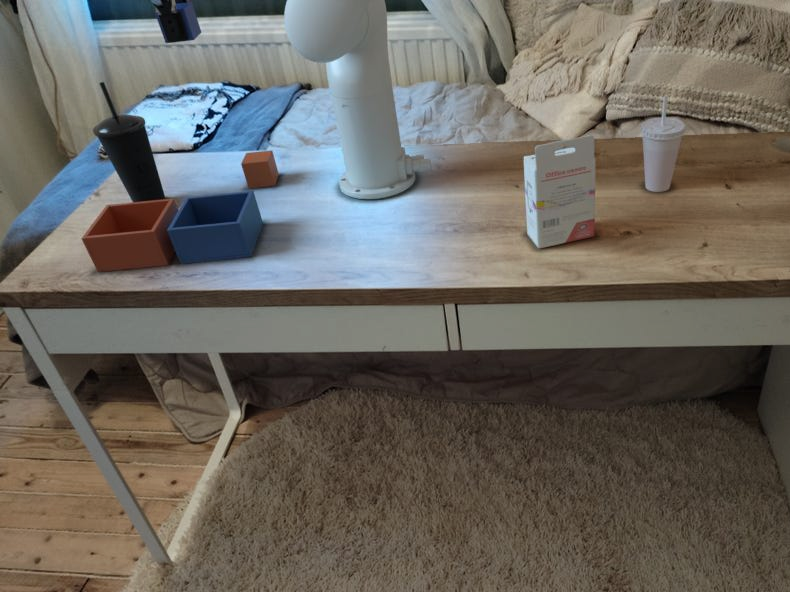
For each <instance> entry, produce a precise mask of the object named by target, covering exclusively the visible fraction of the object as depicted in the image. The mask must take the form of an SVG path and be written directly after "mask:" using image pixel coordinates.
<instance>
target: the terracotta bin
mask: <svg viewBox="0 0 790 592" xmlns="http://www.w3.org/2000/svg"><path fill="white" fill-rule="evenodd" d="M178 210H179V208H178V206H177V203H176V199H175V198H166V199H163V200H153V201H142V202H133V201H131V202H125V203H124V202H121V203H111V204H106V205H105V207H104V208H103V209H102V210H101V212H100V213H99V214H98V216H97V217H96V219H94V221H93V222H92V224H91V225H90V226H89V227H88V229H87V230H86V232H85V233H84V234H83V235H82V237H81V241H82V244H83V245H84V247H85V249H86V251H87V253H88V255H89V257H90V259H91V261H92V264H93V265H94V268H95V269H96V272H97V273H102V272H111V271H121V270H130V269H142V268H153V267H162V266H169V264H170V262H171V260H172V259H173V257H174V255H175V253H176V251H175V249H174V246H173V244H172V241H171V239H170V236H169V234H168V231H167V230H168V228H169V226H170V224H171V223H172V221H173V219H174V217H175V216H176V214H177V212H178Z"/></svg>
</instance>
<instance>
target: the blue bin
mask: <svg viewBox="0 0 790 592" xmlns="http://www.w3.org/2000/svg"><path fill="white" fill-rule="evenodd" d="M263 225H264V221H263V218H262V215H261V211H260V208H259V205H258V202H257V198H256V195H255V192H254V190H247V191H246V190H245V191H236V192H226V193H215V194H208V195H207V194H206V195H196V196H186V197H185V198H184V200H183V202H182V204H181V205H180V207H179V208H178V212H177V214H176V216H175V217H174V219H173V221H172V223H171V224H170V226H169V228H168V230H167V231H168V234H169V236H170V239H171V241H172V244H173V246H174V249H175V253H176V256H177V259H178V261H179V265H180V264H181V265H183V264H193V263H202V262H203V263H205V262H215V261H224V260H235V259H245V258H251V257H252V255H253V252H254V249H255V246H256V244H257V241H258V238H259V236H260V233H261V230H262V227H263Z"/></svg>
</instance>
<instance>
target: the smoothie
mask: <svg viewBox="0 0 790 592" xmlns="http://www.w3.org/2000/svg"><path fill="white" fill-rule="evenodd" d="M667 108H668V95H664V96H663V98H662V111H661V117H653V118H648V119H646V120H645V121H643V122H642V123H641V125H640V130H639V131H640V134H641V136H642V148H643V149H642V151H643V152H642V153H643V165H644V166H643V167H644V185H645V189H647V191H650V192H653V193H654V192H655V193H662V192H666V191H669V189H670V188H671V184H672V180H673V176H674V171H675V168H676V162H677V158H678V154H679V150H680V146H681V143H682V138H683V136H684V135H685V133H686V124H685V123H684V122H683V121H682V120H681V119H677V118H673V117H667Z"/></svg>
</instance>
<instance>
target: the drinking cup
mask: <svg viewBox="0 0 790 592" xmlns="http://www.w3.org/2000/svg"><path fill="white" fill-rule="evenodd" d="M99 86H100V88H101V91H102V94H103V96H104V98H105V100H106V103H107V107H108V108H109V111H110V113H111V116H108V117H107V118H105V119H103V120H102V121H100V123H98V124H96V125H95V126H94V127H93V128H92V133H93V135H94V136H95V137H97V139H98V141H99V143H100V144H101V146H102V148H103V150H104V152H105V153H106V155H107V158H108V159H109V161H110V162H111V164H112V166H113V169H114V170H115V172H116V174H117V175H118V178H119V179H120V181H121V183H122V185H123V187H124V189H125V191H126V192H127V194H128V196H129V198H130V200H131V202H142V201H153V200H163V199H167V198H166V195H165V192H164V188H163V184H162V181H161V177H160V174H159V171H158V167H157V163H156V160H155V156H154V153H153V150H152V146H151V143H150V140H149V136H148V133H147V129H146V120H145V118H144V117H143V116H139V115H133V114H123V113H122V114H118V113H117V111H116V107H115V105H114V103H113V101H112V98H111V96H110V93H109V91H108V88H107V86H106V84H105V81H101V82H99Z"/></svg>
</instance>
